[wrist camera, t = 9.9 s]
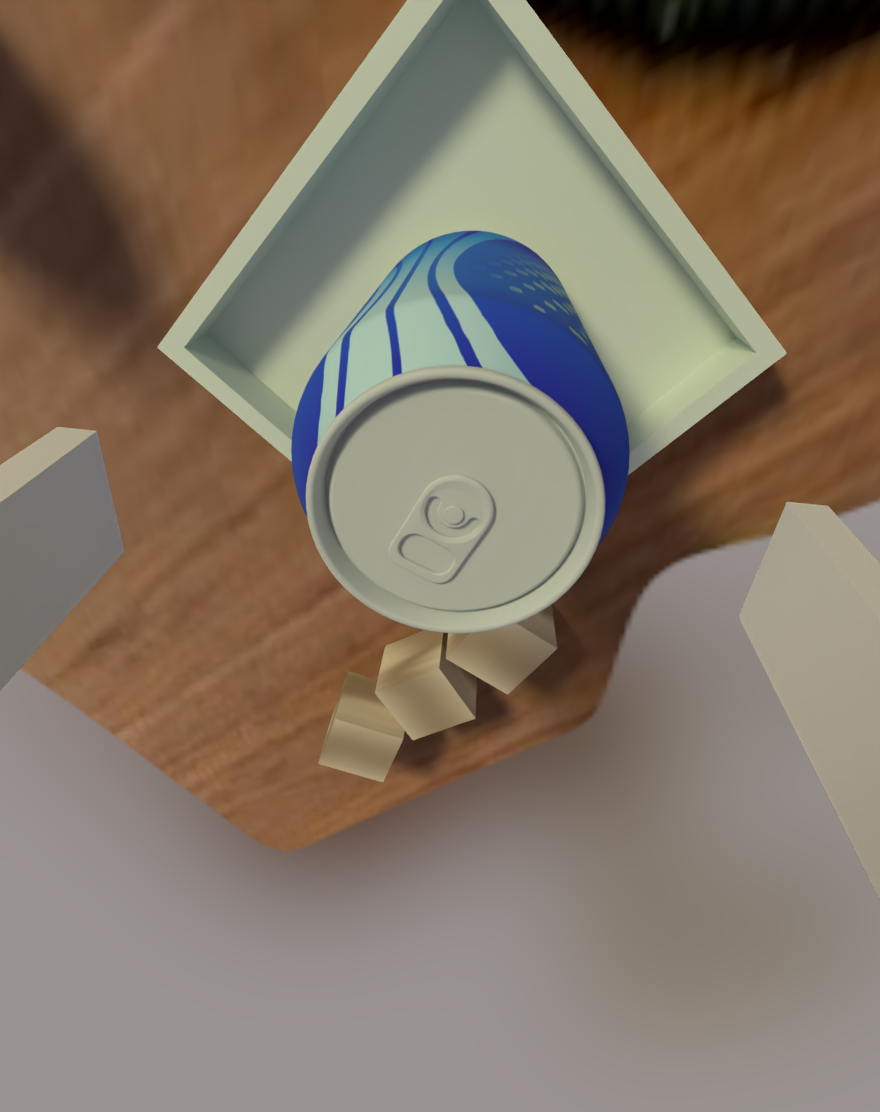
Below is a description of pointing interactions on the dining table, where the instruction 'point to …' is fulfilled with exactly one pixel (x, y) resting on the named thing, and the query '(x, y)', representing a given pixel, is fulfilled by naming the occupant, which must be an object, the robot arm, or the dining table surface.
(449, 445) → the beer can
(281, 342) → the tray
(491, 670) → the beech cube
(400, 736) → the beech cube
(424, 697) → the beech cube
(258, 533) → the dining table surface
